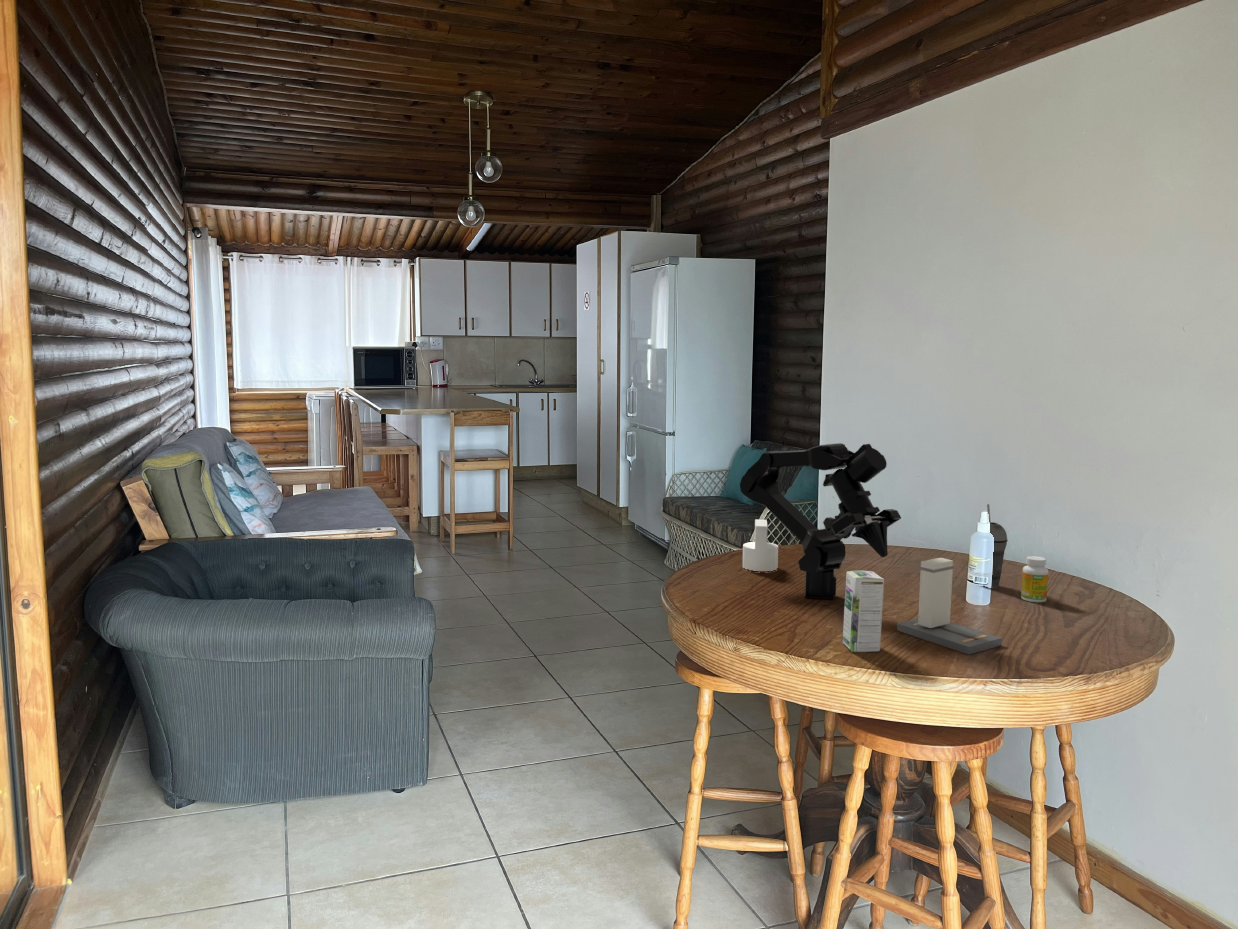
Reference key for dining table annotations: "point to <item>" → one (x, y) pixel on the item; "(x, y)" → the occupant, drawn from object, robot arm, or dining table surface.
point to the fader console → (952, 636)
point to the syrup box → (863, 611)
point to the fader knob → (935, 592)
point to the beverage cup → (997, 549)
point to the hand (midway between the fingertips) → (884, 556)
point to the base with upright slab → (760, 550)
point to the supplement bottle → (1034, 580)
